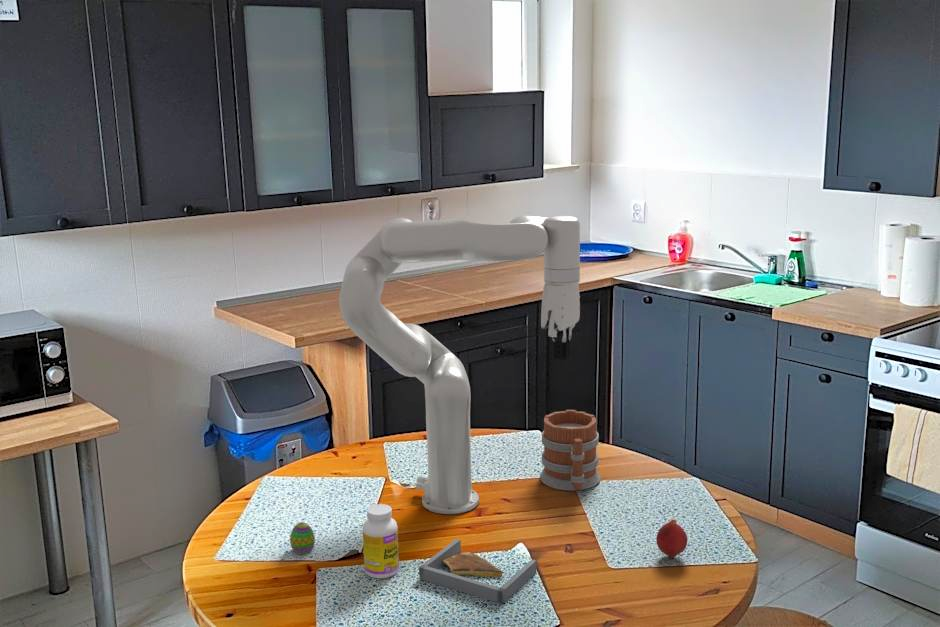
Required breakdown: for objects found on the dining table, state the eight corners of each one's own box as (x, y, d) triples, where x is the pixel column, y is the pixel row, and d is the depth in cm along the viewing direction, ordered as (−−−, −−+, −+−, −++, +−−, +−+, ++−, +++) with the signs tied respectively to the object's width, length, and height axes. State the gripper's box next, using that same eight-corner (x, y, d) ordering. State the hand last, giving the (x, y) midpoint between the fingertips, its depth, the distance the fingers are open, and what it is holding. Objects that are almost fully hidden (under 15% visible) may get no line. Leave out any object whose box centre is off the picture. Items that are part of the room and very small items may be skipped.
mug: (594, 466, 231) (594, 407, 227) (610, 500, 212) (610, 436, 208) (536, 468, 230) (535, 409, 226) (547, 503, 211) (546, 439, 208)
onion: (668, 567, 182) (669, 528, 181) (649, 554, 187) (650, 516, 186) (692, 559, 185) (694, 521, 183) (673, 547, 190) (674, 510, 188)
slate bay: (419, 579, 180) (419, 567, 180) (456, 550, 191) (456, 538, 190) (502, 604, 171) (502, 591, 170) (536, 572, 182) (536, 560, 181)
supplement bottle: (385, 583, 179) (382, 520, 176) (357, 574, 183) (354, 512, 180) (406, 567, 185) (403, 506, 182) (378, 559, 188) (375, 499, 185)
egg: (306, 542, 196) (304, 515, 194) (320, 550, 193) (318, 522, 191) (285, 550, 193) (283, 523, 191) (300, 558, 189) (298, 530, 188)
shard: (504, 579, 181) (504, 570, 180) (471, 592, 176) (471, 583, 176) (470, 557, 189) (470, 548, 189) (438, 569, 185) (438, 560, 184)
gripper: (561, 267, 211) (561, 347, 215) (529, 280, 198) (530, 365, 203) (593, 270, 207) (592, 352, 211) (562, 283, 194) (562, 369, 199)
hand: (562, 358), depth 207 cm, fingers closed
